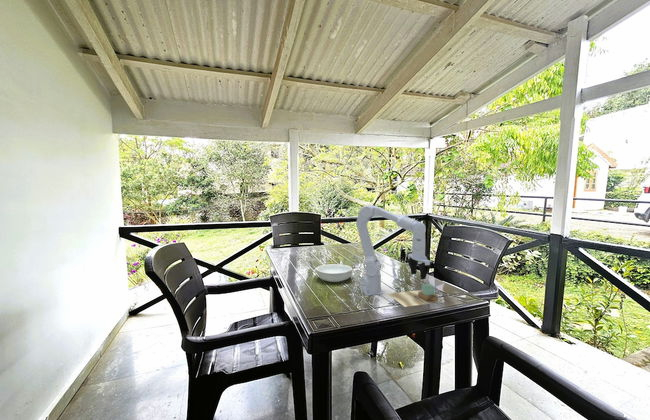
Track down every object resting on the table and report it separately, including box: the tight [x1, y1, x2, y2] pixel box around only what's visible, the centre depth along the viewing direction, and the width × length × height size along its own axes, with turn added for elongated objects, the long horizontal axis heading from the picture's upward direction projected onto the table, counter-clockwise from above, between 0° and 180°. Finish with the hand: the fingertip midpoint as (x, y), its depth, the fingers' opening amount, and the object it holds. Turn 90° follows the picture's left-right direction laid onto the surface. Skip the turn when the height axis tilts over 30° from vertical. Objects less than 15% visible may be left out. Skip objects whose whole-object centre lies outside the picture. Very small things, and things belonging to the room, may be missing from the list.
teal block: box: [421, 283, 435, 295], centre depth 127 cm, size 4×4×4 cm
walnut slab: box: [418, 292, 439, 302], centre depth 127 cm, size 6×6×2 cm
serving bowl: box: [315, 263, 353, 283], centre depth 158 cm, size 21×21×7 cm
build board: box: [387, 289, 445, 308], centre depth 128 cm, size 20×16×1 cm
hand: (418, 276), depth 129 cm, fingers open, 7 cm apart
